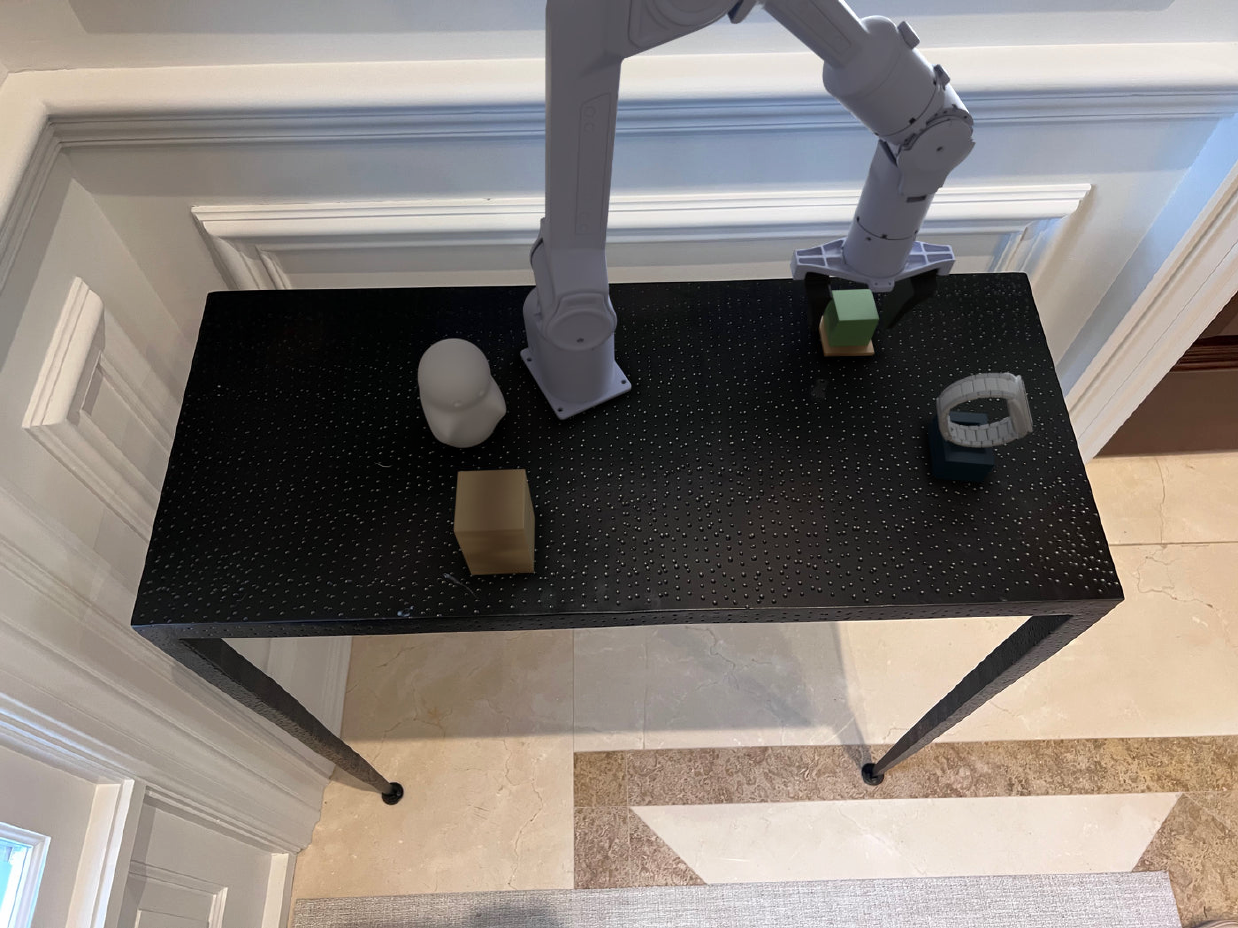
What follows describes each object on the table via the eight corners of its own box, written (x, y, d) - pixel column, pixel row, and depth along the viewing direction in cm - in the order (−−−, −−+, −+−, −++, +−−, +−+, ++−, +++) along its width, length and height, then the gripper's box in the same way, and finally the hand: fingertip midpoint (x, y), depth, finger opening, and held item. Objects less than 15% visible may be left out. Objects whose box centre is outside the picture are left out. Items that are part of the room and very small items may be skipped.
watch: (1003, 484, 73) (1060, 415, 63) (914, 476, 73) (957, 407, 64) (994, 433, 75) (1047, 361, 66) (908, 426, 76) (949, 353, 66)
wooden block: (471, 575, 68) (453, 531, 61) (474, 519, 71) (457, 471, 64) (534, 572, 68) (523, 528, 61) (534, 517, 71) (525, 468, 64)
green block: (829, 347, 80) (838, 320, 77) (822, 317, 82) (831, 290, 79) (868, 345, 80) (879, 319, 77) (860, 316, 82) (871, 289, 79)
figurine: (451, 470, 73) (424, 394, 63) (417, 413, 77) (385, 332, 66) (518, 436, 75) (502, 357, 65) (482, 382, 79) (461, 298, 68)
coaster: (824, 356, 80) (825, 353, 80) (816, 319, 83) (817, 316, 82) (873, 355, 80) (874, 352, 80) (863, 318, 83) (865, 315, 83)
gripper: (812, 252, 66) (783, 356, 77) (984, 247, 66) (930, 351, 78) (799, 195, 70) (773, 302, 81) (962, 190, 70) (913, 297, 81)
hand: (849, 322), depth 80 cm, fingers open, 7 cm apart
